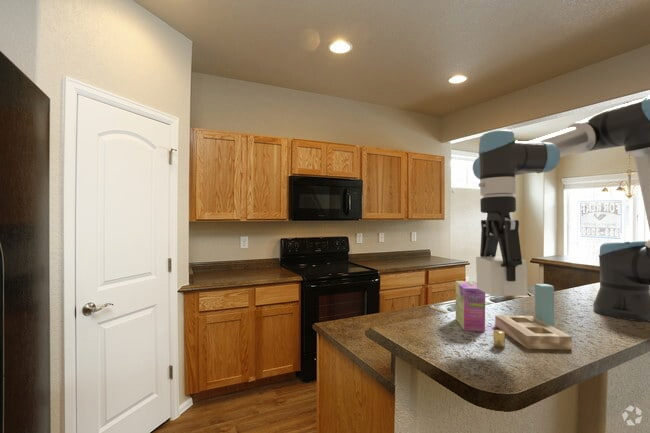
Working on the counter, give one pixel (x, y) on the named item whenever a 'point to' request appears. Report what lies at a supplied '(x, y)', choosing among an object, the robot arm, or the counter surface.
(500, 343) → the stub
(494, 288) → the white cube
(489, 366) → the counter surface
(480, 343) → the counter surface
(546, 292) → the peg
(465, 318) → the box
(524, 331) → the socket board
